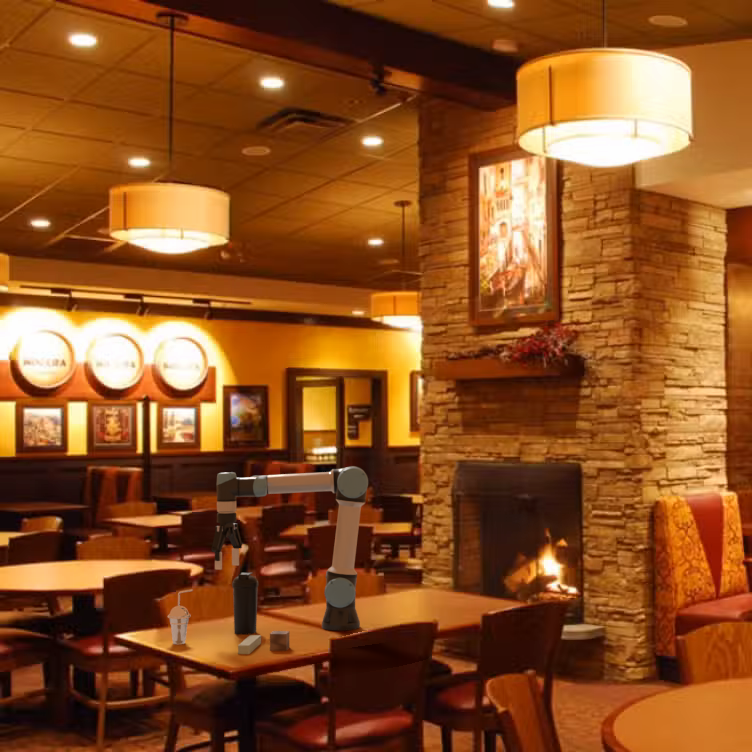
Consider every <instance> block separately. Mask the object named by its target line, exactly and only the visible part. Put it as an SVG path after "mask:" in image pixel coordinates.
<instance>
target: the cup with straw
mask: <svg viewBox="0 0 752 752" xmlns="http://www.w3.org/2000/svg"><path fill="white" fill-rule="evenodd" d="M193 591H194V589H193V588H191V589H186V590H185V589H184V590H180V591H178V593H177V605H176V606H174V607H172V608H171V609H170V612H169V614H168V615H167V618H168V619H169V623H170V629H171V638H172V644H173V645H177V646H178V645H184V644H186V640H187V631H188V624H189V620H190V619H189V618H191V613H189V611H188V608H186V607H185V606H184V605H180V604H181V602H180V601H181V594H182V593H189V592H193Z"/></svg>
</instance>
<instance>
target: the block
mask: <svg viewBox="0 0 752 752" xmlns="http://www.w3.org/2000/svg"><path fill="white" fill-rule="evenodd" d="M289 649H290V630H273V631H271V632H270V633H269V651H272V652H276V651H277V652H280V651H281V652H286V651H288V650H289Z"/></svg>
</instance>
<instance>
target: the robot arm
mask: <svg viewBox="0 0 752 752" xmlns="http://www.w3.org/2000/svg"><path fill="white" fill-rule="evenodd" d="M216 475H217V476H216V512H217V514H216V523H219V525H216V526H215V527H214V528H215V529H214V531H215V532H214V536H213V539H212V540H213V542H212V545H211V549H210V550H211V552H212V553H214V570H219V571H221V570H223V552H222V549H223V546H224V544H225V541H226V539H227V538H228V539H229V542H230V545H232V547H233V548H231V566H240V549H242V548H243V547H242V546H243V542H242V538H241V534H240V531H239V524H238V523H236V522H237V513H236V512H237V497H239V498H240V497H245V498H246V497H249V498H251V497H252V498H255V497H256V498H259V497H266V496H267V495H270V494H271V495H272V494H273V495H274V494H277V495H278V494H293V493H296V494H297V493H315V492H316V493H317V492H332V494H336V495H335V501H336V502H337V503H338V512H337V519H336V520H337V521H336V529H335V537H334V538H335V539H334V544H333V545H334V546H333V554H332V561H331V562H332V564H331V566H330V567H329V568H328V569H327V570H326V574H325V587H324V598H325V600H326V601H325V603H326V604H325V605H326V607H325V611H324V615H323V618H322V621H321V628H322V629H323V630H326V631H327V630H328V631H339V632H340V631H353V630H352V629H354V630H357V628H358V629H360V628H361V627H360V626H361V622H360V617H359V615H358V611H357V608H356V593H357V591H356V586H357V578H358V572H357V571H356V569H355V563H356V556H357V555H356V554H357V547H358V546H357V544H358V538H359V537H358V535H359V527H360V519H361V512H362V511H361V508H362V506H364V505H365V504H366V500H367V494H368V487H369V478H368V474H367V473H366V472H365V470H364V469H362V468H361V467H359V466H355V465H350V466H347V467H342V468H332V469H331V470H330V471H326V472H325V471H324V472H323V471H322V472H305V473H304V472H303V473H285V474H284V473H282V474H268V475H267V474H266V475H252V476H250V477H249V476H247V477H237V474H236V472H233V471H231V472H219V473H217V474H216Z"/></svg>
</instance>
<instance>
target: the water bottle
mask: <svg viewBox="0 0 752 752" xmlns="http://www.w3.org/2000/svg"><path fill="white" fill-rule="evenodd" d="M251 574H253V572H240V574H238V576H236V577H234V579H233V581H232V582H231V586H232V590H233V591H232V595H233V625H234V626H233V632H234V634H236V635H255V634H256V633H257V622H258V621H257V620H258V617H257V616H258V615H257V614H258V587H259V580H258V579H257V578H256V577H255V576H253V575H251Z"/></svg>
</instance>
